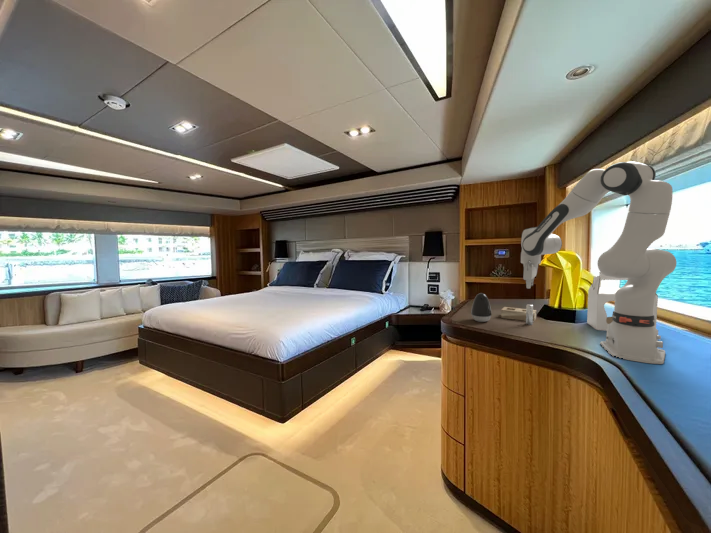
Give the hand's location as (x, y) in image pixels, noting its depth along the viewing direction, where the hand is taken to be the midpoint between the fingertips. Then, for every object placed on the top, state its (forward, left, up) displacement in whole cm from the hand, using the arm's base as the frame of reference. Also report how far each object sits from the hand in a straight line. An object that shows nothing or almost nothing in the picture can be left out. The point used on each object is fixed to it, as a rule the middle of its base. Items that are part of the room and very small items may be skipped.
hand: (529, 287), depth 154 cm
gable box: (+14, -36, -20) cm, 43 cm away
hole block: (+11, +6, -19) cm, 23 cm away
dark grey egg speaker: (-6, +22, -20) cm, 30 cm away
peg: (0, 0, -19) cm, 19 cm away
